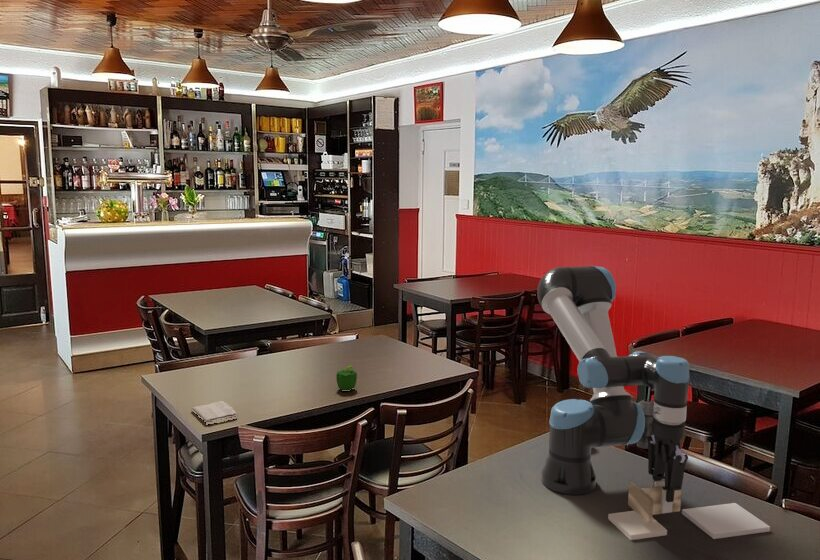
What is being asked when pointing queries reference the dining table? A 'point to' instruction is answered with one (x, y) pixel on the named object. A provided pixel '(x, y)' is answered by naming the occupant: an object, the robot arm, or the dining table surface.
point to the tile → (636, 525)
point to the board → (725, 520)
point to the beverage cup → (646, 421)
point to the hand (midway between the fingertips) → (662, 508)
